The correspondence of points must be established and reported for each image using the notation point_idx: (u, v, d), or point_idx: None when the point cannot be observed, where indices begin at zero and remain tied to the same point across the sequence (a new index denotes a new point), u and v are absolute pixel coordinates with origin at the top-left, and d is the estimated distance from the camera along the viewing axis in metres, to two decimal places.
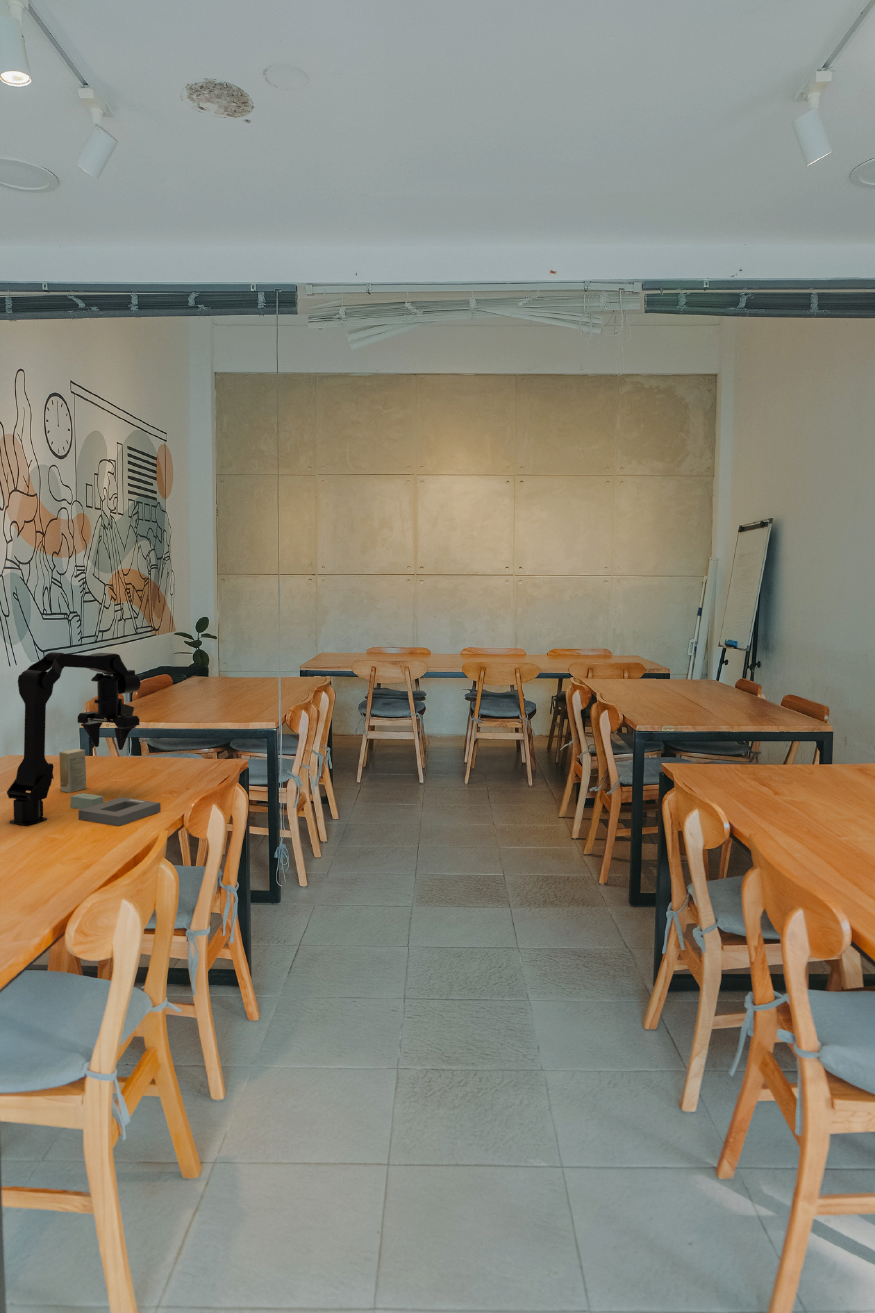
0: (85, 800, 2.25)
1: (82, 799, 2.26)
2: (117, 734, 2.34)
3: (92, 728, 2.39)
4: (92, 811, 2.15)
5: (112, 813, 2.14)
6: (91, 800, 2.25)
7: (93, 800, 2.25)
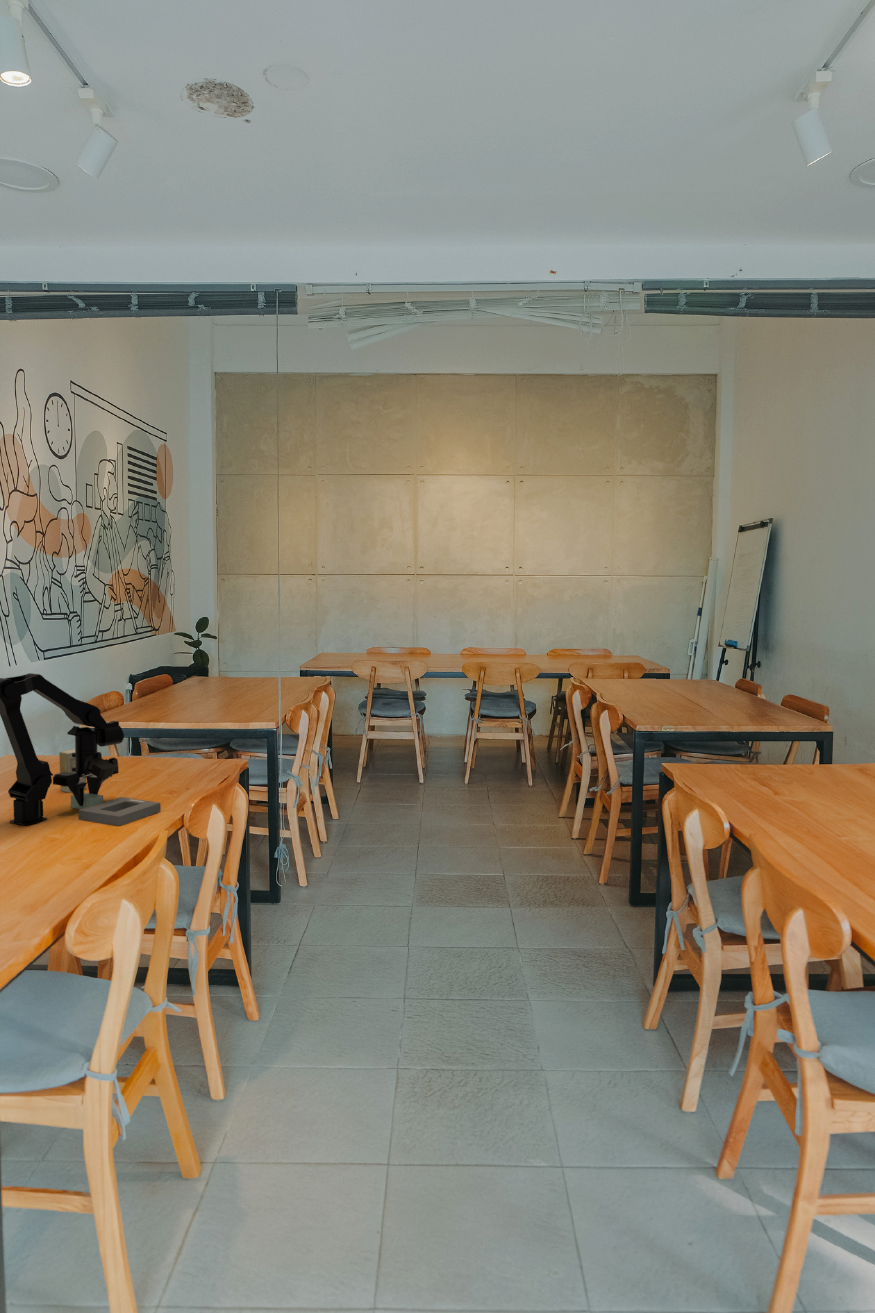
0: (85, 799, 2.25)
1: None
2: None
3: (90, 781, 2.30)
4: (92, 811, 2.15)
5: (112, 813, 2.14)
6: (91, 799, 2.25)
7: (93, 799, 2.25)
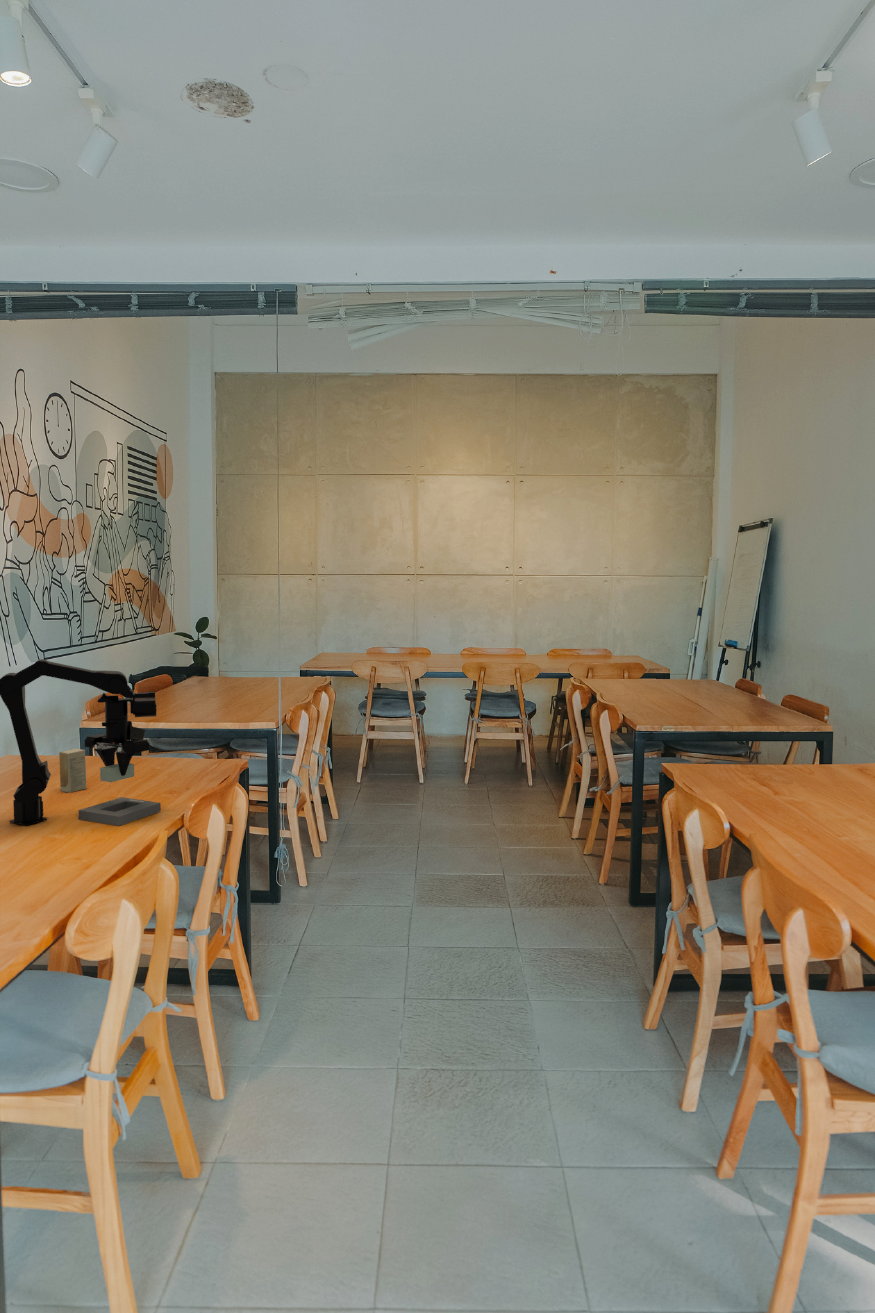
0: None
1: None
2: (119, 759, 2.17)
3: (106, 754, 2.20)
4: (92, 811, 2.15)
5: (112, 813, 2.14)
6: (133, 765, 2.23)
7: None
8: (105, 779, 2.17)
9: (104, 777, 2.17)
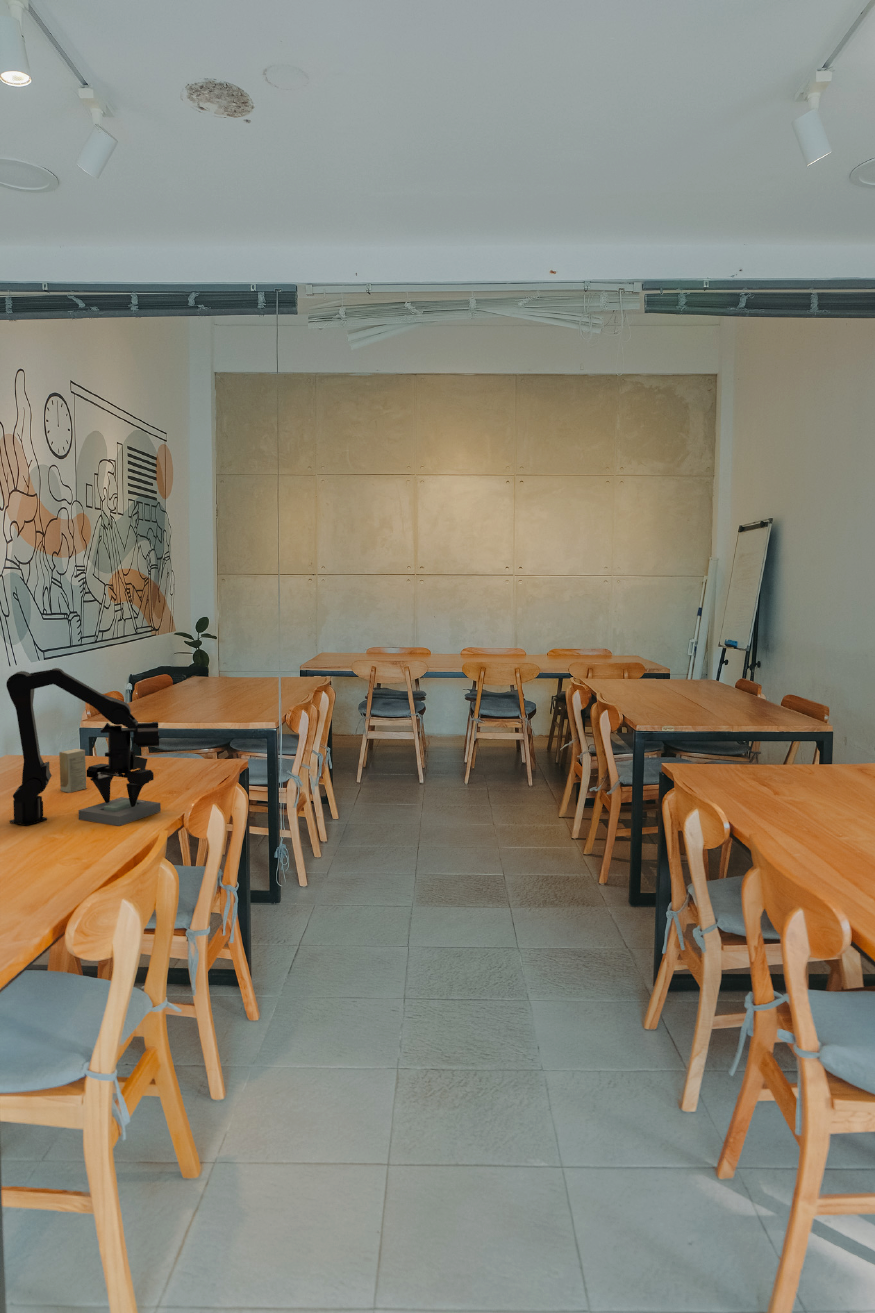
0: (130, 805, 2.21)
1: (127, 805, 2.20)
2: (129, 790, 2.16)
3: (102, 783, 2.21)
4: (92, 811, 2.15)
5: (112, 813, 2.14)
6: None
7: None
8: None
9: None
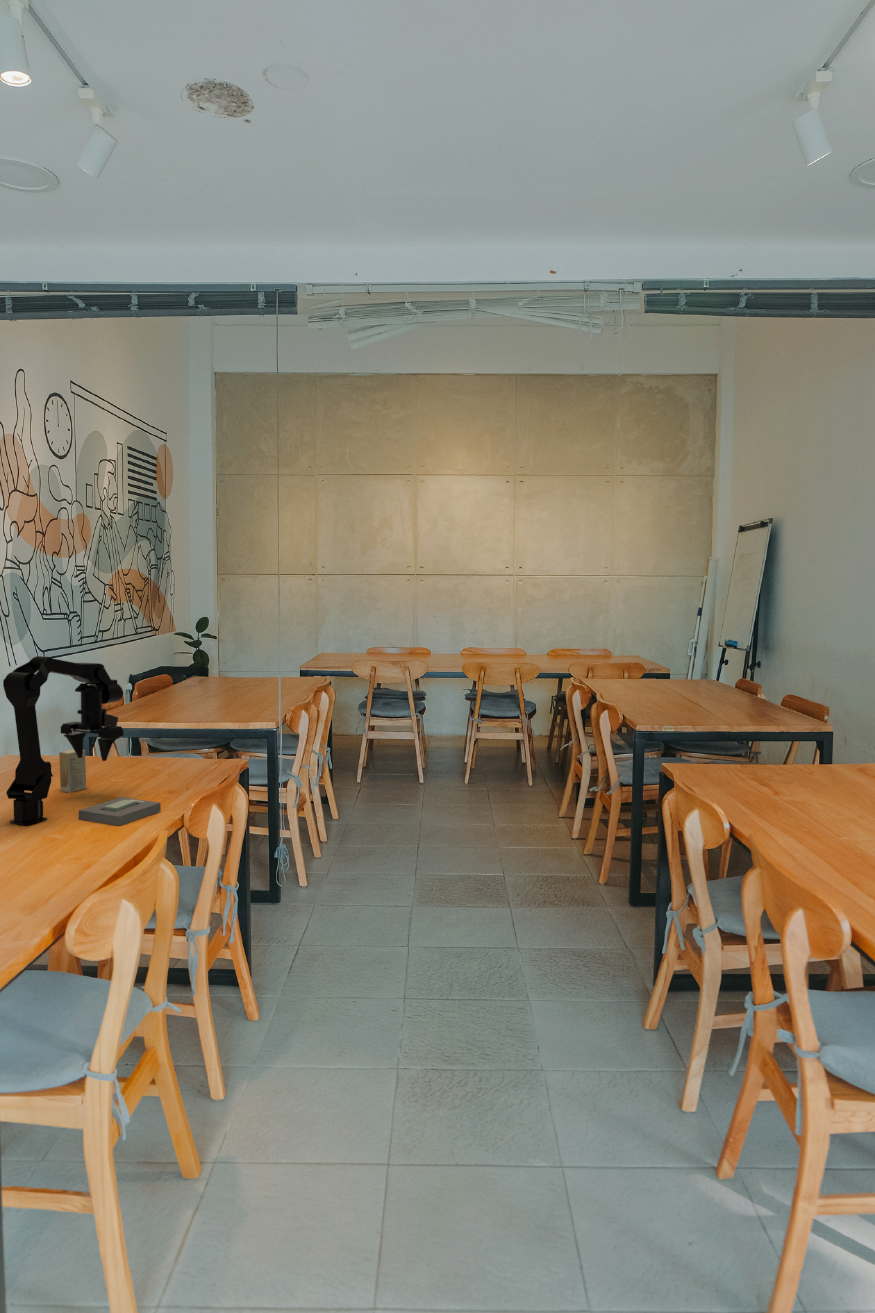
0: (130, 805, 2.21)
1: (127, 805, 2.20)
2: (100, 745, 2.31)
3: (75, 739, 2.36)
4: (92, 811, 2.15)
5: (112, 813, 2.14)
6: (135, 802, 2.23)
7: None
8: None
9: None
